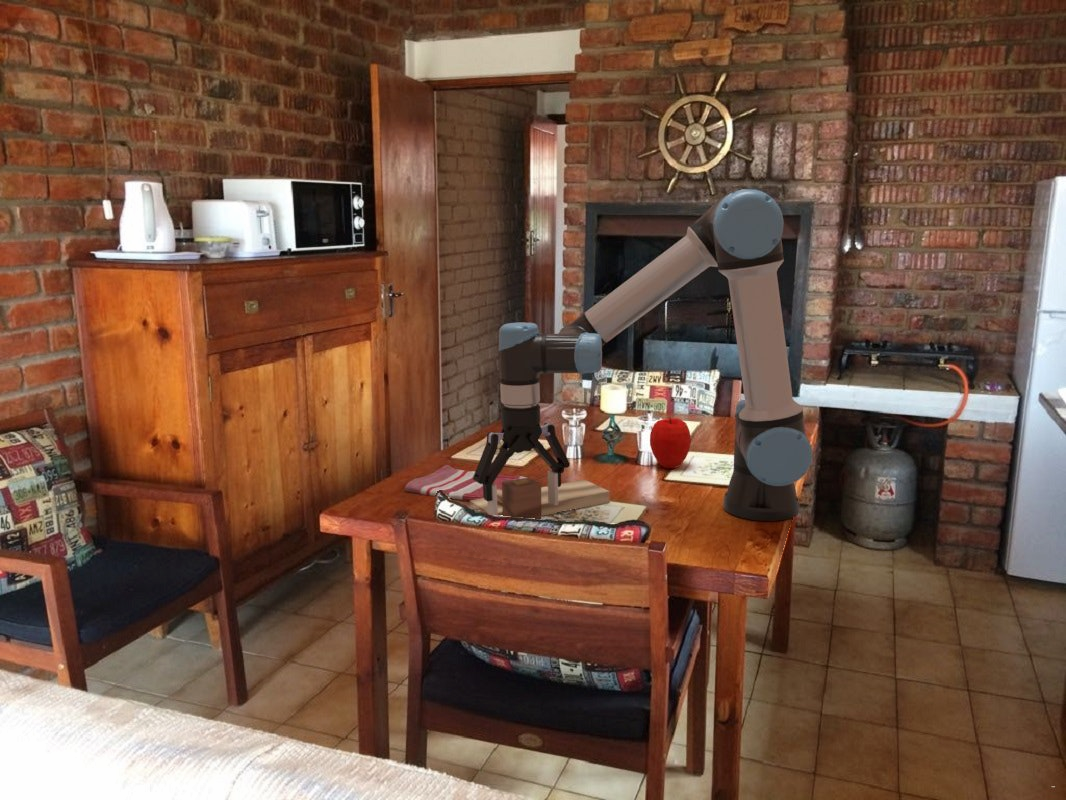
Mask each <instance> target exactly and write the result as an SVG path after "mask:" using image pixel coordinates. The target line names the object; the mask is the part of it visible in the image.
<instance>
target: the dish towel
mask: <svg viewBox="0 0 1066 800" xmlns="http://www.w3.org/2000/svg"><path fill="white" fill-rule="evenodd" d="M475 471H476V470H474V471H473V470H471V471H467V470H461V469H458V468H454V467H452V466H451V465H449V464H445V465H443V466H442V467H440V468H439V469H437V470H436V471H434V472H433V473H430V474H427V475H425V476H420V477H417V478H416V477H415V478H413V479H411V480H410V481H408V482H407V483H406V485H405V486H404V491H405V492H407V493H413V494H420V495H426V496H431V497H436V496H435V495H436V493H437V491H439V490H443V491H445V492H446V493H447V494H448V496H449V497H450V498H452V499H453V500H458V501H459V500H460V501H465V502H469V503H470V500H475V499H480V498H483V484H480V483H478V482H476V481H474V480H473V476H474V474H475ZM522 478H528V477H526V476H522V475H516V474H508V473H499V475H498V476H497V478H496V479H495V481H494V482H493V483H494V484H496V485H497V490H498V489H499V490H501V491H502V482H505V481H511V480H517V479H522ZM450 498H449V499H450ZM452 499H451V500H452Z"/></svg>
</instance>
